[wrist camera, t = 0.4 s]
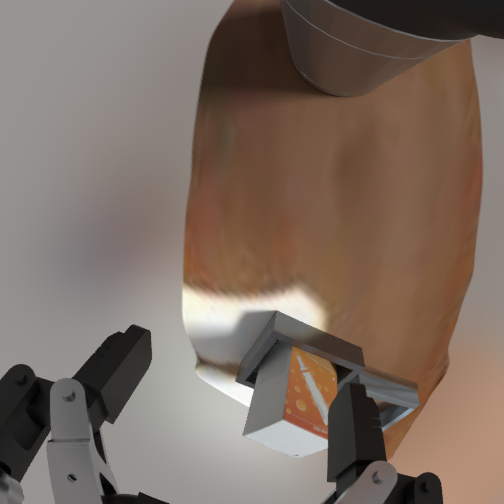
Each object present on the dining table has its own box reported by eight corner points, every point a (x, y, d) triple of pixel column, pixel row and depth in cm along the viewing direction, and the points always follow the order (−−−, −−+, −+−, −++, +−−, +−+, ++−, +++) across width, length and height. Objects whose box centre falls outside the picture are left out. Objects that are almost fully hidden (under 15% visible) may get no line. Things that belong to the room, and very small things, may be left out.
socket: (276, 310, 31) (273, 329, 28) (361, 348, 32) (365, 367, 28) (240, 362, 36) (235, 381, 33) (315, 391, 36) (315, 410, 33)
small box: (337, 359, 33) (339, 444, 21) (303, 380, 36) (296, 459, 24) (293, 328, 32) (282, 420, 20) (260, 353, 35) (240, 437, 23)
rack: (357, 362, 33) (360, 385, 29) (416, 383, 33) (422, 404, 29) (310, 404, 38) (308, 425, 34) (369, 420, 38) (370, 439, 35)
